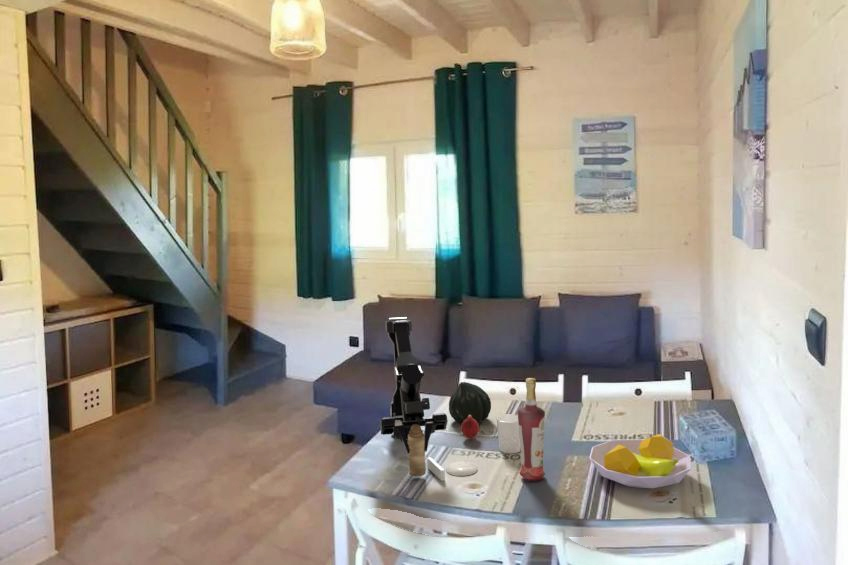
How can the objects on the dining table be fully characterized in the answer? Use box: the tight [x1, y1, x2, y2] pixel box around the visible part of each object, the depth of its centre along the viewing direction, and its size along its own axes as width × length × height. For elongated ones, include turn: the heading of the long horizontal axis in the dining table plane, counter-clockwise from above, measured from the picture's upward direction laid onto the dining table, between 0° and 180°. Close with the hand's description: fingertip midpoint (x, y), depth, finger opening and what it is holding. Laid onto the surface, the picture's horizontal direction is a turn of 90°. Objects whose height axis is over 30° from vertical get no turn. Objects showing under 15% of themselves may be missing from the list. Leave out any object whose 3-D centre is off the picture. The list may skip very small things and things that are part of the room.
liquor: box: [517, 377, 546, 482], centre depth 178 cm, size 7×7×28 cm
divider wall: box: [427, 457, 446, 482], centre depth 185 cm, size 10×1×3 cm, turn 22°
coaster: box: [445, 461, 478, 477], centre depth 187 cm, size 9×9×1 cm
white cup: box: [496, 413, 520, 454], centre depth 200 cm, size 8×8×10 cm
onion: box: [460, 415, 480, 440], centre depth 210 cm, size 6×6×8 cm
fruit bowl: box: [589, 433, 692, 489], centre depth 176 cm, size 28×27×11 cm
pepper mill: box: [407, 424, 427, 477], centre depth 181 cm, size 5×5×14 cm
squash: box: [448, 381, 492, 425], centre depth 227 cm, size 14×15×15 cm
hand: (417, 452), depth 180 cm, fingers closed on pepper mill, 5 cm apart
